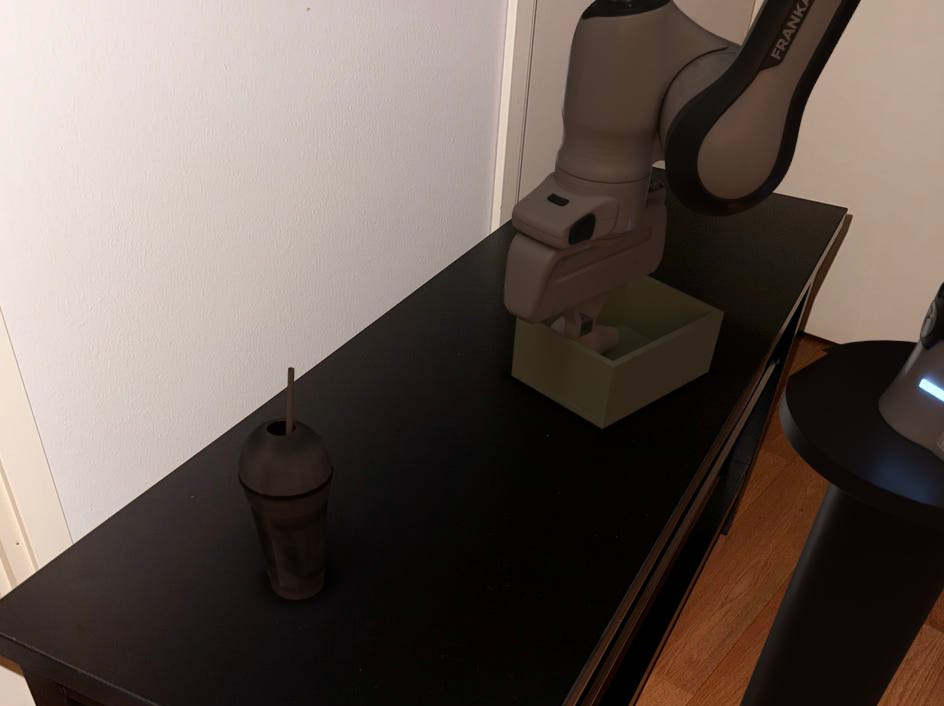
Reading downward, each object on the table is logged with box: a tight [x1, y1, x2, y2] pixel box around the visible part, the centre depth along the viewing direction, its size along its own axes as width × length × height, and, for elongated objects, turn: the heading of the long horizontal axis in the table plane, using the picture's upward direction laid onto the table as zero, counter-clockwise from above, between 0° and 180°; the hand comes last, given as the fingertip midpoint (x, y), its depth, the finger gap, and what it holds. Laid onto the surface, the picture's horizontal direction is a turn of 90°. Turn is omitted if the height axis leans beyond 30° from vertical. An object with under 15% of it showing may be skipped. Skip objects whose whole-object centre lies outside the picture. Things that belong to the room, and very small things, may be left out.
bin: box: [511, 275, 725, 430], centre depth 104 cm, size 19×14×7 cm
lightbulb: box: [550, 316, 619, 354], centre depth 105 cm, size 6×6×11 cm
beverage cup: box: [237, 366, 334, 601], centre depth 73 cm, size 7×7×20 cm
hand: (578, 334), depth 98 cm, fingers closed
